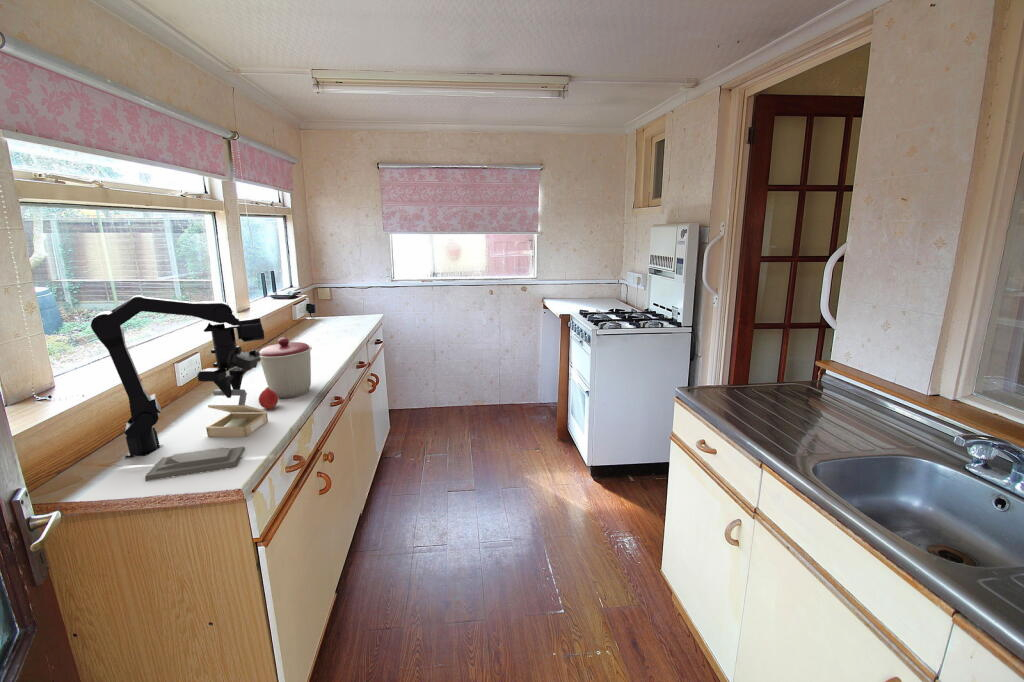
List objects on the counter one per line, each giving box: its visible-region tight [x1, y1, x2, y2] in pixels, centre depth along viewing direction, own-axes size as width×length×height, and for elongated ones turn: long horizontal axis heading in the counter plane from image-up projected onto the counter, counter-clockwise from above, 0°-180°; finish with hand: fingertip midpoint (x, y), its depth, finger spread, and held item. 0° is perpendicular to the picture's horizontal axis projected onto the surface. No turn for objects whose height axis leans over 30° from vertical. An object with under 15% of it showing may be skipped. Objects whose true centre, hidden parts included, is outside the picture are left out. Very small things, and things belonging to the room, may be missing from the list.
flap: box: [207, 388, 267, 413], centre depth 147 cm, size 10×12×5 cm
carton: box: [205, 412, 269, 438], centre depth 146 cm, size 11×12×3 cm
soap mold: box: [144, 445, 246, 482], centre depth 126 cm, size 10×20×4 cm, turn 105°
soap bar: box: [224, 418, 247, 427], centre depth 147 cm, size 6×4×2 cm, turn 5°
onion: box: [258, 386, 279, 410], centre depth 162 cm, size 6×6×8 cm
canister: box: [258, 337, 313, 399], centre depth 176 cm, size 18×18×21 cm
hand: (233, 395), depth 144 cm, fingers open, 3 cm apart
